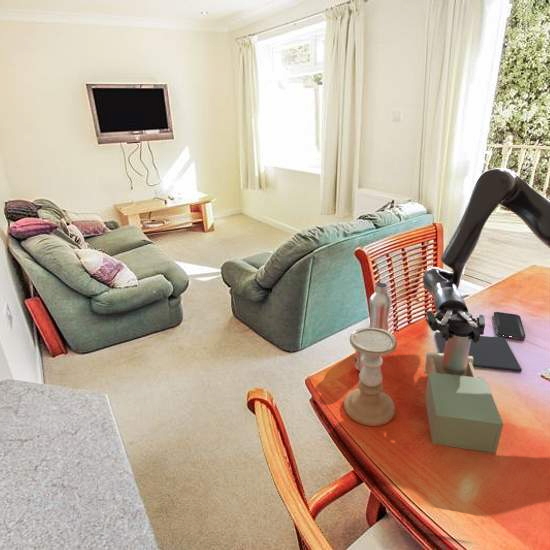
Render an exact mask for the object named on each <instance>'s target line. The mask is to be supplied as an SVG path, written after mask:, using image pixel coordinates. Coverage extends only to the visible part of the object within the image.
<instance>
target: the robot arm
mask: <svg viewBox="0 0 550 550" xmlns="http://www.w3.org/2000/svg"><path fill="white" fill-rule="evenodd" d="M499 205H500V206H502V207H503V208H505V209H507V210H509V211H510V212H512V213H513V214H514V215H516V216H517V217H518V218H519V219H521V220H522V221H523V223H524V224H525V225H526V226H527V228H528V229H529V230H530V231H531V232H532V234H533V235H534V236H535V237H536V238H537V239H538V240H539V241H540V242H541V243H543V244H544V245H545V246H546V247H547V248H549V249H550V199H548V198H547V197H545V196H544V195H543V194H540V193H539V192H538V191H536V190H535V189H534V188H533V187H532V186H531V185H530V184H529V183H527V182H526V181H525V180H524V179H523V178H521V177H520V175H518V174H517V173H516V172H515V171H513V170H511V169H509V168H506V167H505V168H504V167H497V168H490V169H487V170H485V171H483V172H482V173H481V174H480V175H479V176H478V178H477V179H476V181H475V183H474V186H473V189H472V192H471V194H470V196H469V200H468V203H467V205H466V207H465V210H464V213H463V215H462V217H461V219H460V220H459V223H458V225H457V227H456V229H455V231H454V233H453V234H452V236H451V238H450V240H449V241H448V243H447V245H446V247H445V249H444V251H443V252H442V254H441V257H440V261H441V262H442V263H443V264H444V265H445V266H447V267H448V268H450V269H451V271H449V270H445V269H443V268H440V267H436V266H432V267H429V268H427V269H426V270H425V272H424V273H423V275H422V284H423V288H425V290H426V291H427V292H428V293H429V294H430V295H431V296H432V298H433V307H434V309H435V313H433V312H432V311H430V310H426V313H425V314H426V315H425V322H426V323H427V325H428V327H429V328H430V330H431V331H433V332H440V333H441V337H442V338H444V339H445V340H446V341H448V340H449V330H448V324H449V323H451V322H463V323H466V324H468V325H470V326H471V327H472V328H473V334H472V341H473V343H477V341H479V339H480V336H484V333H485V328H486V319H485V315H484V314H479V315H478V316H474V315H472V314H471V313H470V312H469V308H468V306H467V304H466V302H465V300H464V297H463V296H462V294H461V292H460V290H459V287H460V283H461V280H462V279H461V278H462V275H463V273H464V270H465V269H464V268H465V266H466V264H467V262H468V261H469V259H470V257H471V256H472V254H473V252H474V251H475V249H476V247H477V245H478V243H479V240H480V237H481V234H482V231H483V229H484V227H485V225H486V223H487V222H488V220H489V218H490V217H491V216H492V214H493V212H494V211H495V210H496V208H497V207H498V206H499Z"/></svg>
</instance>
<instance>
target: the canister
mask: <svg viewBox="0 0 550 550" xmlns="http://www.w3.org/2000/svg"><path fill="white" fill-rule="evenodd" d="M448 330H449V340H448V341H446V343H445V350H444V357H443V364H442V368H443V370H444V371H445V372H447V373H449V374H452V375H463V374H465V372H466V368H467V362H468V356H469V350H470V344H471V338H472V334H473V328H472V327H471V326H470V325H468V324H466V323H463V322H451V323H449V324H448Z"/></svg>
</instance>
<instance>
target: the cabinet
mask: <svg viewBox="0 0 550 550" xmlns="http://www.w3.org/2000/svg"><path fill="white" fill-rule="evenodd" d="M424 400H425V408H426V413H427V420H428V425H429V433H430V438H431V444H433V445H437V446H439V445H440V446H444V447H445V446H446V447H451V448H452V447H453V448H458V449H465V450H470V451H478V452H484V453H492V454H497V451H498V447H499V443H500V440H501V435H502V431H503V427H504V422H503V420H502V417H501V415H500V412H499V410H498V407H497V404H496V402H495V399H494V397H493V395H492V392H491V389H490V387H489V385H488V382H487V379H486V378H483V377H477V378H476V377H467V376H458V375H449V374H440V373H431V372H429V373H428V374H427V382H426V389H425V395H424Z"/></svg>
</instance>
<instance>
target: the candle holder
mask: <svg viewBox="0 0 550 550" xmlns="http://www.w3.org/2000/svg"><path fill="white" fill-rule="evenodd" d="M349 343H350V346H351V347H352V348H353V349H354V350H357V351H359V352H361V353H363V354H364V355H363V356H362V357H361V362H362V363H363V366H362V369H361V371H359V374H358V379H359V381H358V382H357V388H355V389H352V390H351V391H349V392H348V393H347V394H346V396H345V397H344V399H343V408H344V412H345V413H346V414H347V416H348V417H349V418H350V419H351V420H353V421H354V422H356V423H358V424H360V425H363V426H368V427H380V426H383V425H386V424H388V423H390V422H391V420H392V419H393V418H394V416H395V413H396V405H395V403H394V401H393V399H392V398H391V396H389V395H388V394H387V393H385V392H384V391H383V389H384V386H383V381H384V377H383V372H382V370H381V367H382V365H383V363H384V360H383V357H382V356H386V355H390V354H391V353H393V352H394V351H396V349H397V346H398V341H397V338H396V336H395V335H394V334H392V333H391V332H390V331H389V332H388V331H386V330H383V329H379V328H371V327H361V328H358V329H356V330H354V331H352V333H351V334H350V335H349Z"/></svg>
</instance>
